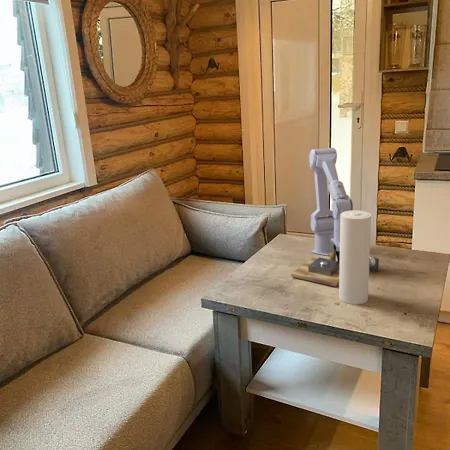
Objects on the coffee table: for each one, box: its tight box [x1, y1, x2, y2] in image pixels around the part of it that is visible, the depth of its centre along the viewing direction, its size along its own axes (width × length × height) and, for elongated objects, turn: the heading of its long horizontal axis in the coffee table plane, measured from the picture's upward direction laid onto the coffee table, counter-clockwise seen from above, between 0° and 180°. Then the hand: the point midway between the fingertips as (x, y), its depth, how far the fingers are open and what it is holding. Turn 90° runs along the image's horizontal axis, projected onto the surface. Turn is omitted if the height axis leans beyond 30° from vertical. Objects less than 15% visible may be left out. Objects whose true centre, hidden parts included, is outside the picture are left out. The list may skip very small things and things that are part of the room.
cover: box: [308, 257, 340, 277], centre depth 172 cm, size 9×9×3 cm
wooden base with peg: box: [290, 251, 340, 287], centre depth 172 cm, size 18×18×5 cm
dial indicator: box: [369, 255, 380, 273], centre depth 172 cm, size 3×4×6 cm
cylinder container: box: [338, 209, 372, 306], centre depth 149 cm, size 9×9×30 cm
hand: (341, 262), depth 177 cm, fingers closed
